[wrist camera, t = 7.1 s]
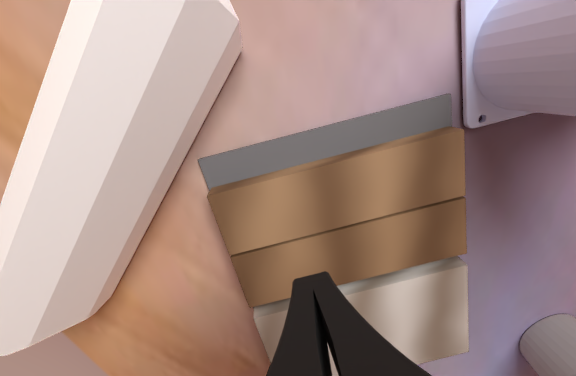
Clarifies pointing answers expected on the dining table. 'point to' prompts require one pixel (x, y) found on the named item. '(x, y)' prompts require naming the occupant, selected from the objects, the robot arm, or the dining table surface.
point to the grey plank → (398, 310)
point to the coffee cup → (551, 346)
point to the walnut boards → (346, 214)
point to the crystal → (104, 152)
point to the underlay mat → (327, 141)
